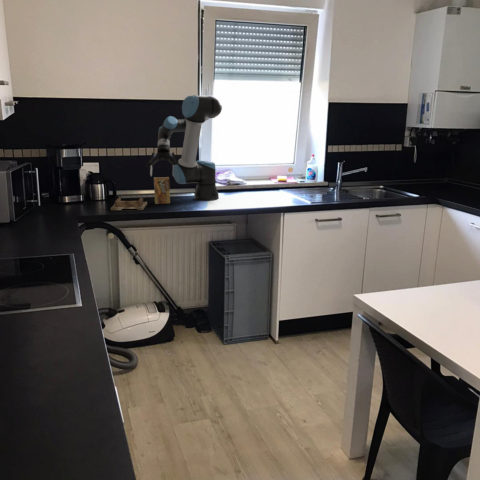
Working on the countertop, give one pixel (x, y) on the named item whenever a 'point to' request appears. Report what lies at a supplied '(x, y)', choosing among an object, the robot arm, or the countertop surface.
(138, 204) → the slot holder
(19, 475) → the countertop surface
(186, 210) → the countertop surface
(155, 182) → the candy box
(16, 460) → the countertop surface
